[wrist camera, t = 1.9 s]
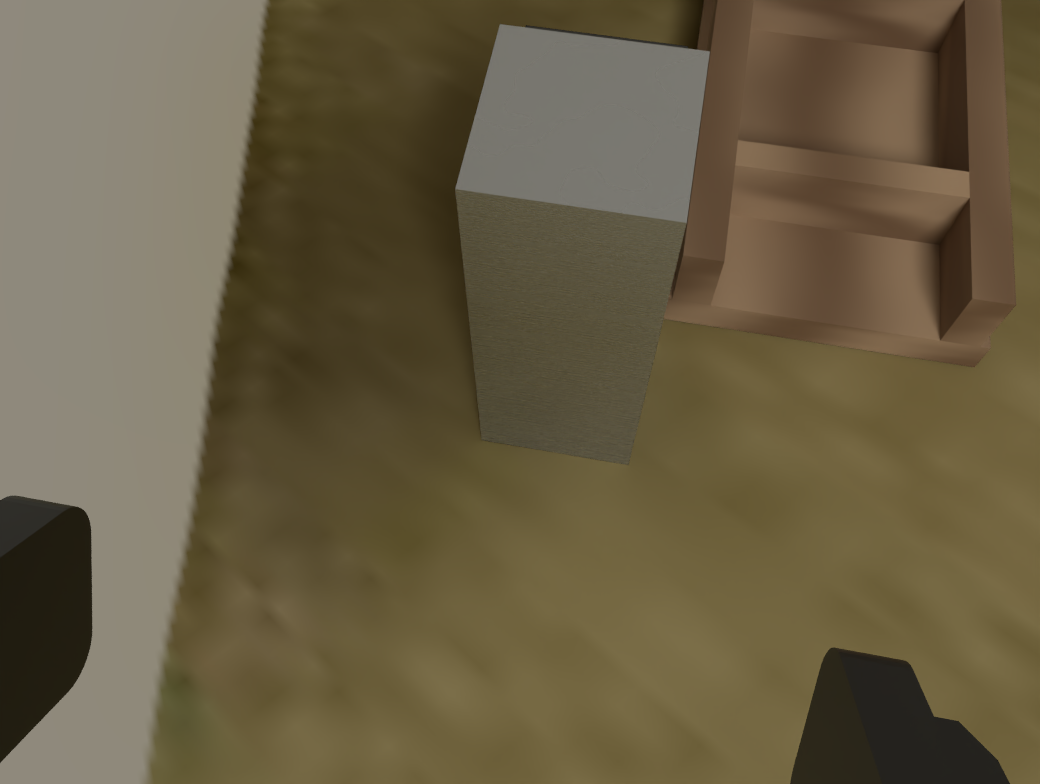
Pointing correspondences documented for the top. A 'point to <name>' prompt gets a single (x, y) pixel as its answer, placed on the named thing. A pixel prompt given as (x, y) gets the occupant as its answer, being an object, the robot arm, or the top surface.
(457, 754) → the top surface
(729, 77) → the brown wooden slotted rack
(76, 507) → the robot arm
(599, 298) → the finger blank
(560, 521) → the top surface
